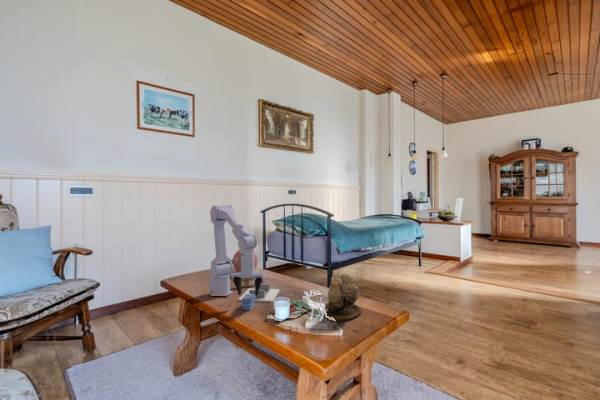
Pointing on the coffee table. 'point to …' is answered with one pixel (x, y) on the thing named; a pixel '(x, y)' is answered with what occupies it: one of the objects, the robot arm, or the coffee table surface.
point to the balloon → (237, 261)
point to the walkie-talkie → (292, 310)
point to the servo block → (248, 301)
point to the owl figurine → (343, 299)
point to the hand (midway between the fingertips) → (248, 294)
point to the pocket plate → (262, 293)
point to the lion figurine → (249, 280)
